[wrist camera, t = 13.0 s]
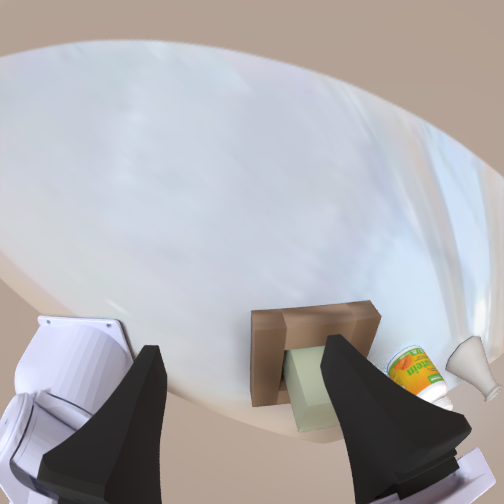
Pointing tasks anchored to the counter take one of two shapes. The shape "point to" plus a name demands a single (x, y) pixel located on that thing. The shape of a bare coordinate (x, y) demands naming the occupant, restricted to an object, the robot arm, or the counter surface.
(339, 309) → the socket
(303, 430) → the peg
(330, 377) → the robot arm
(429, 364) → the supplement bottle
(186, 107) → the counter surface
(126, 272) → the counter surface
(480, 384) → the flask
